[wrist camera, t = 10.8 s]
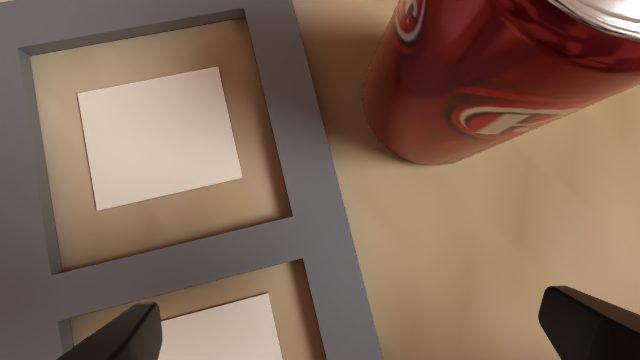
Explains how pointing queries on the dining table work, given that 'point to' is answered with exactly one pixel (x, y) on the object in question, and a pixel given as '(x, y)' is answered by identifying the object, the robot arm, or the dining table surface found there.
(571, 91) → the soda can
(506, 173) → the dining table surface
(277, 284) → the dining table surface
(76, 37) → the label frame
